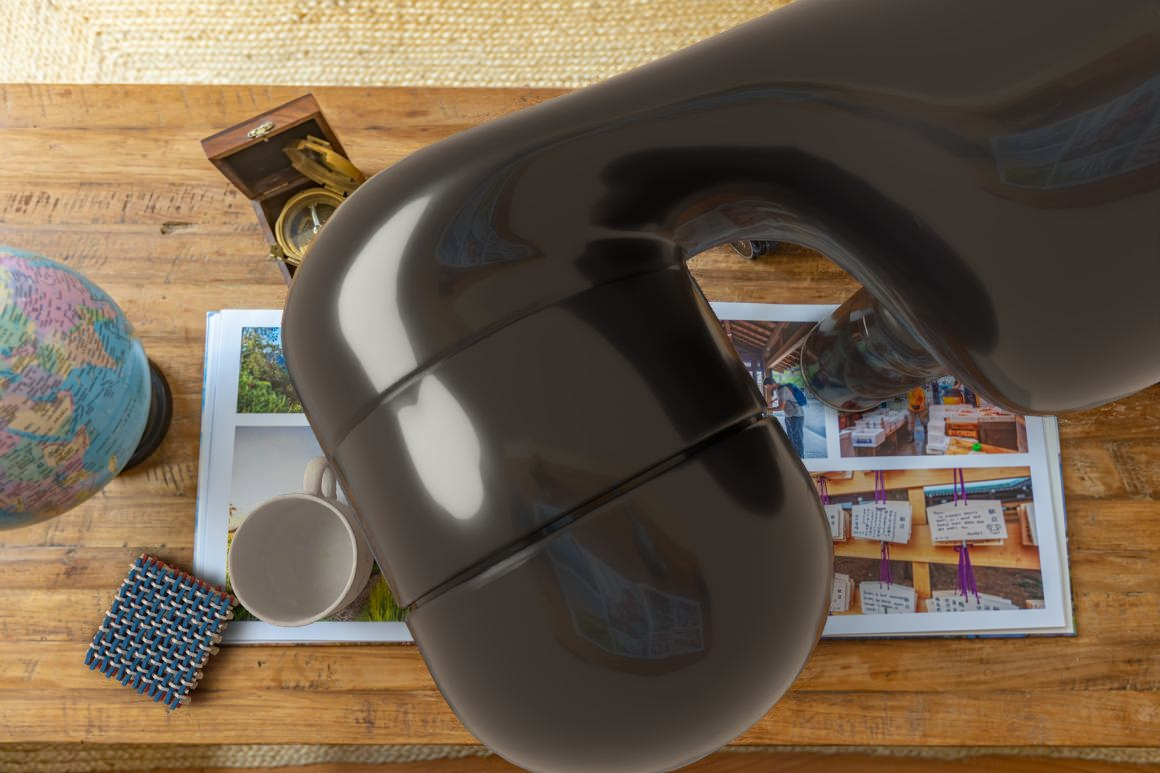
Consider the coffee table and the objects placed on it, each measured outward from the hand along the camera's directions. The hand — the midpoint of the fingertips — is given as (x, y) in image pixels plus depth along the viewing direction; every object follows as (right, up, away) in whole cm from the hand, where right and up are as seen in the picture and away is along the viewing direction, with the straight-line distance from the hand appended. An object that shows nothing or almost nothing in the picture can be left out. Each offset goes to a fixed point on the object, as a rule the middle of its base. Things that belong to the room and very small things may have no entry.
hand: (580, 501), depth 47 cm
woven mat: (-37, -15, +24) cm, 46 cm away
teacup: (-23, -7, +25) cm, 35 cm away
